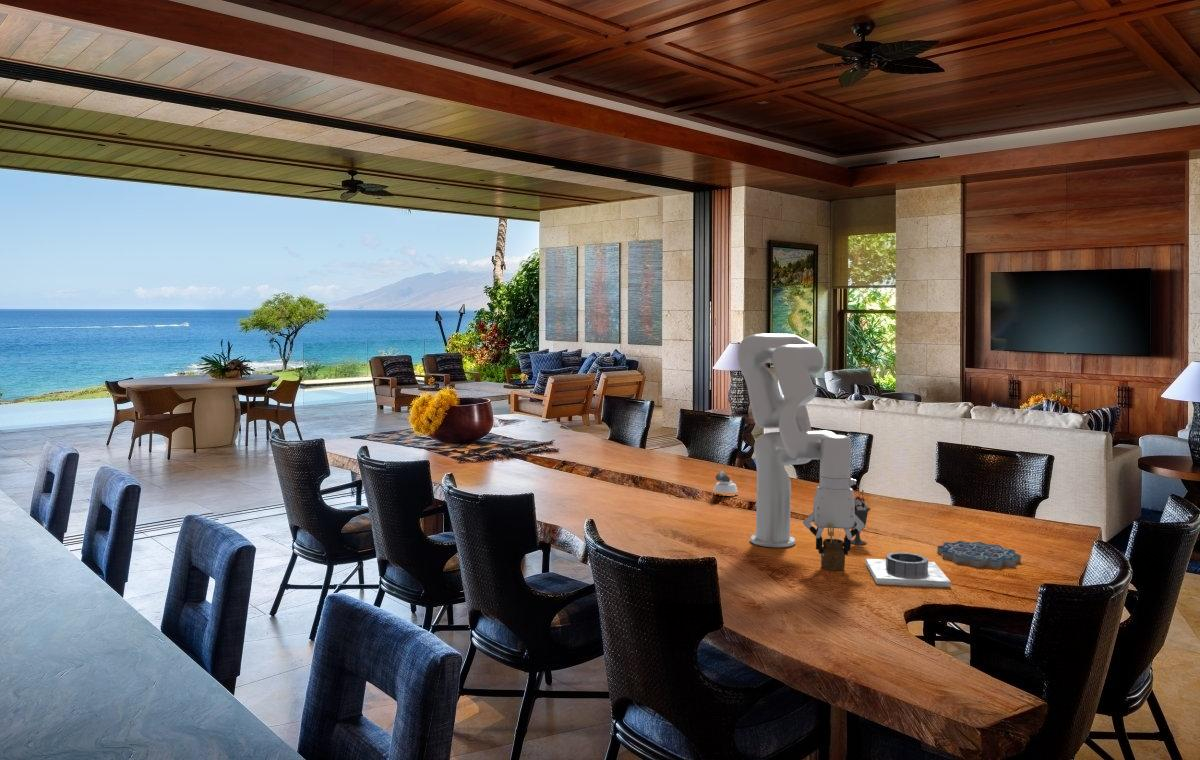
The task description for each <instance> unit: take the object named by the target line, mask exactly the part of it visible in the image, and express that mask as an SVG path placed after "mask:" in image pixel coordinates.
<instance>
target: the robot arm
mask: <svg viewBox="0 0 1200 760" xmlns="http://www.w3.org/2000/svg"><path fill="white" fill-rule="evenodd" d="M737 356H738V364H739V367H740V371H741V373H742V376H743V378H744V380H745V384H746V389H747V393H748V399H749V402H750V408H751V413H752V418H753V421H754V423H755V425H756V426H757V427H758V428H761V429H768V430H769V429H778V431H773V432H765V433H763V434H760V435H759V436H758V437H757V438H756V439H755V442H754V445H753V453H754V454H753V455H754V458H755V465H756V513H755V514H756V515H755V516H756V522H755V525H756V526H755V534H752V535H751V536H750V543H752V544H754V545H757V546H761V547H767V548H789V547H792V546H794V545H795V544H796V538H795V537H794V536H791V506H792V505H791V504H792V502H791V498H792V494H791V493H792V482H791V478H790V475H789V473H788V472H787V469H785V466H792V465H793V466H794V465H804V464H807V463H809V462H811V461H812V460H819V485H818V486H816V488H815V492H814V499H813V505H812V506H813V508H812V512H811V513H810V514H809V515H808V516H807V517H806V518H805V519H804V520H803V521H802V524H803V525H804V527H806V528H807V529H808V530H809V531H810V532H811V533H812V534H813V536H815V550H817V551H818V554H819V555H821V553H822V547H823V540H824V539H823V537H822V535H823V532H824V530H825V529H828V525H827V524H829V529H830V524H831V529H832V525H834V529H837V528H838V529H843V531H844V533H845V535H844V537H843V542H844V547H843V548H844V550H845V556H848V555H849V552H851V547H852V544H851V540H853V538H855V536H856V534H857V533H858V532H859V531H860V530H861V531H863V530H864V529H865V528H864V527H866V525H864V523H863V522H862V521H861V520H860V519H859V518H858V517H857V516H856V515H855V506H854V499H855V497H854V496H855V495H854V492H853V490H854V489H853V488H851V487H852V486H854V485H855V486H856V485H857V479H855V478H852V477H851V464H852V463H851V458H852V440H851V438H850V437H849V436H847V435H845V434H836V433H835V432H834V431H831V430H826V429H825V430H824V429H823V430H812V426H811V421H810V420H811V419H810V415H809V413H808V409H807V404H808V403H810V402H811V401H813V399H814V398H815V397H816V394H817V391H816V388H815V386H814V383H813V381H812V378H811V375H817V374H819V373H820V372H821V371H822V369H823V367H824V356H823V353H822V352H821V350H820V348H819V347H818V346H816V345H815V344H814V343H812V342H810V341H808V340H806V339H804V338H802V337H800V336H798V335H796V334H792V333H754V334H750V335H748V336H746V337H744V338H743V339H742V340H741V342H740V344H739V347H738V354H737ZM765 364H772V367H773V369H774V372H775V375H776V377H777V379H776V377H775V376H774V374H773V373H772V371H771V370H770V369H769V368H767V366H766V365H765ZM777 380H778V382H777ZM778 384H779V386H780V387H779V388H780V391H781V392H782V394H781V393H780V392H779V388H778ZM812 521H813V522H812ZM855 522H856V523H857V526H856V527H855V528H852V527H854V525H855ZM811 523H814V525H815V526H816V527H814V525H812V524H811ZM863 528H864V529H863ZM862 529H863V530H862ZM861 531H860V532H861Z"/></svg>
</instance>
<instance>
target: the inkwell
mask: <svg viewBox="0 0 1200 760" xmlns="http://www.w3.org/2000/svg"><path fill="white" fill-rule="evenodd" d="M715 480H716V481H717V482H715V485H714V487H713V491H716V492H720V493H736V492H738V487H737V484H736V483H734V482H733V480H731V479H730V477H729V476H728V475H727V473H726V472H724V471H723V470H721V471H719V472H718V473H717V474H716V475H715Z"/></svg>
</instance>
